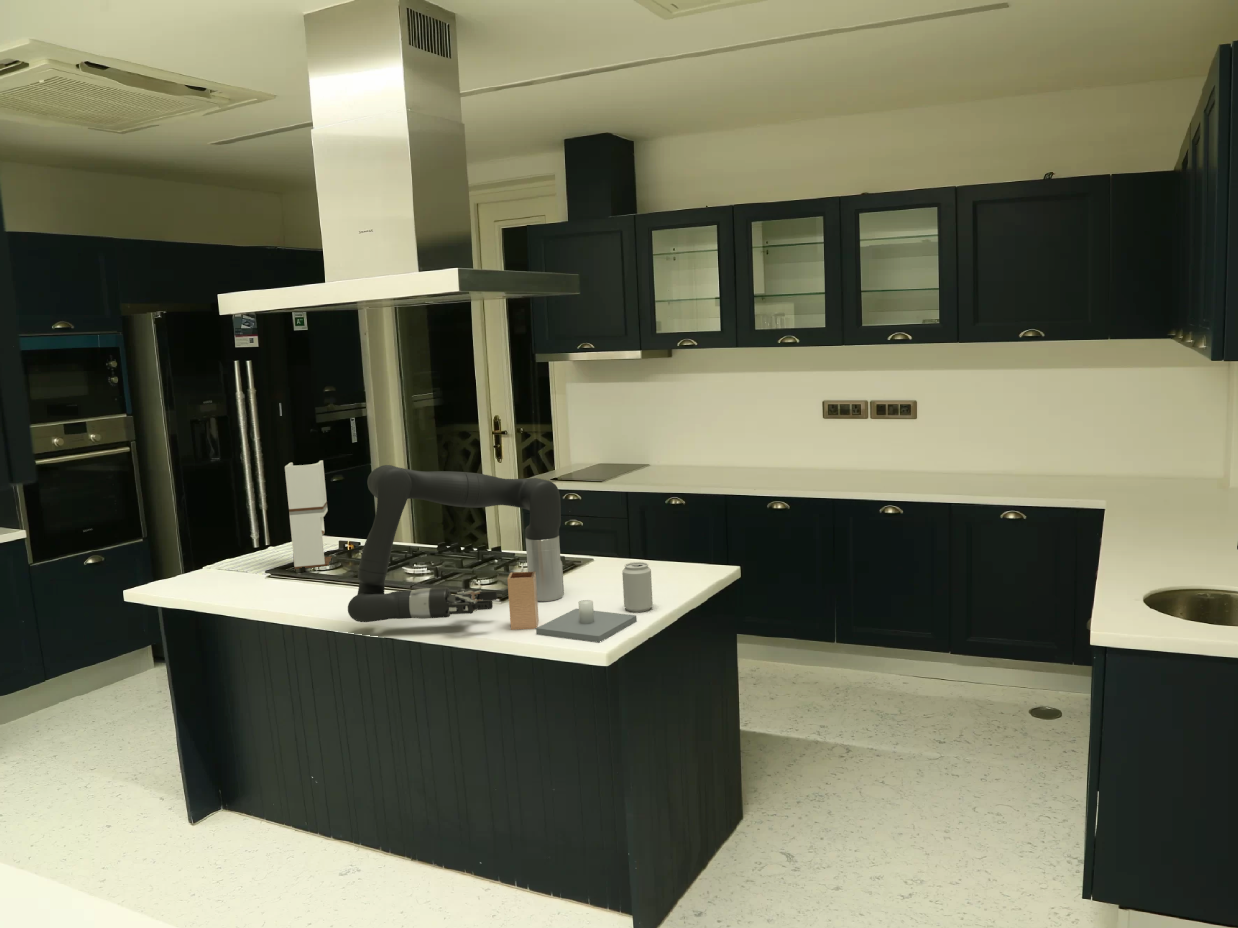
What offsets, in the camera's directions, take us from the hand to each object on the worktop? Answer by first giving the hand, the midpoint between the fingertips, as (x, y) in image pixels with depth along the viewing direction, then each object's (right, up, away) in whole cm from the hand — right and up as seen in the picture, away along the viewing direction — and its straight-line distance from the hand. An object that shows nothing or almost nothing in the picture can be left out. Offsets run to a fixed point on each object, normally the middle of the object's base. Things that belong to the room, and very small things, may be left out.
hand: (494, 599), depth 244 cm
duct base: (+23, -6, -4) cm, 25 cm away
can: (+36, -4, +10) cm, 38 cm away
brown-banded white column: (-70, -1, +80) cm, 106 cm away
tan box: (+8, -7, +1) cm, 10 cm away
